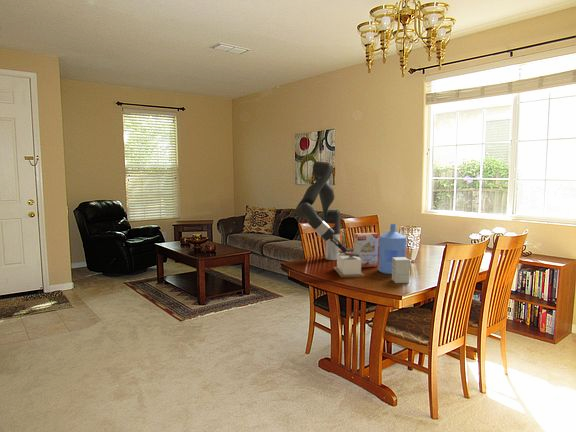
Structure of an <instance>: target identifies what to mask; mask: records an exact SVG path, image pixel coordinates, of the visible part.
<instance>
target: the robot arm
mask: <svg viewBox="0 0 576 432" xmlns="http://www.w3.org/2000/svg"><path fill="white" fill-rule="evenodd" d="M333 166H334V165H333V164H332V163H331V162H327V161H326V162H325V161H315V162H314V163H313V165H312V173H313V177H314V180H315V181H314V182H313V183H312V184H311V185H310V186H308V187H307V189H306V190H305V192H304V194H303V197H302V199H301V200H300V201H299V202H298V204H297V205H296V208H295V210H294V211H295V212H294V213H295V216H296V217H297V218H300V219H303V218H305V217H307V218H308V221H307V223H308V225H309V226H310V227H311V228H312V229H313V230H314V231H315V232H316V233H317V234H318V236H320V237H321V238H322V239H323V240H324V241H325V260H328V261H337V254H340V253H339V250H342V251H343V252H344V253H345V252H346V251H347V250H346V249H347V248H345V246H344V245H343V243H341V239H340V238H341V237H340V235H341V233H340V231H341V230H340V229H341V227H340V226H341V211H340V209H339V210H338V209H329V208H330V206H331V205H332V204H333V202H334V201H335V193H334V189H333V186H331V184H330V183H329V179H330V178H331V176H332V174H333V170H334V168H333ZM318 196H319V200H320V204H321V208H322V215H323V216H322V217H323V219H322V218H321V217H320V216H319V215H318V213H317V212H316V210H315V208H314V207H313V205H314V203H315V202H316V200H317V198H318ZM329 224H330V225H331V224H333V226H332V227H331V226H330V225H329Z"/></svg>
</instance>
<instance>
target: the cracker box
mask: <svg viewBox="0 0 576 432" xmlns="http://www.w3.org/2000/svg"><path fill="white" fill-rule="evenodd" d="M353 249H354V251H353V253H357V254H359V258H360V259H361V269H362V268H376V267H378V261H379V233H377V232H359V233H358V232H356V233H353Z"/></svg>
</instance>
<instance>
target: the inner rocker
mask: <svg viewBox="0 0 576 432" xmlns="http://www.w3.org/2000/svg"><path fill="white" fill-rule="evenodd" d="M345 249H346V250H347V251H346V252H350V253H351V252H354V247H348V248H345ZM342 253H344V252H343V251H342V250H341V249H339V254H342Z"/></svg>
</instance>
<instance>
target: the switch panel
mask: <svg viewBox="0 0 576 432" xmlns="http://www.w3.org/2000/svg"><path fill="white" fill-rule="evenodd" d="M333 269H334V271H336V272H337V274H338V275H339V276H340V277H341V278H365V274H364V273H363V272H362V268H361V259H360V258H359V257H355V256H352V257H350V256H349V255H345V254H344V253H342V254H340V253H339V254H337V260H336V266H333Z"/></svg>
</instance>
